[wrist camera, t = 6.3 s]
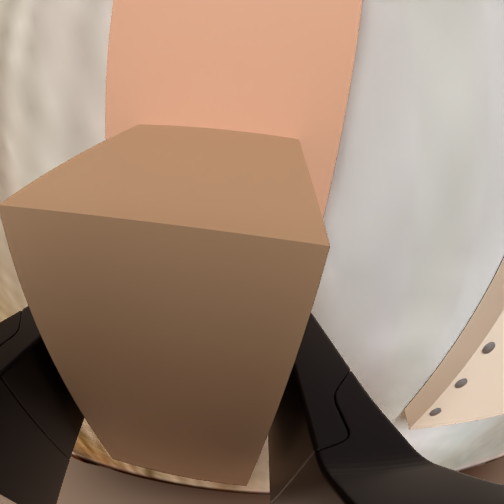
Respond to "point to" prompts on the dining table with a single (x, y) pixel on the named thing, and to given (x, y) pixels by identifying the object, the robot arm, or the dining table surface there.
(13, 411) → the robot arm
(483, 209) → the dining table surface
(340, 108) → the stub
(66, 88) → the dining table surface
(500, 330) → the board
